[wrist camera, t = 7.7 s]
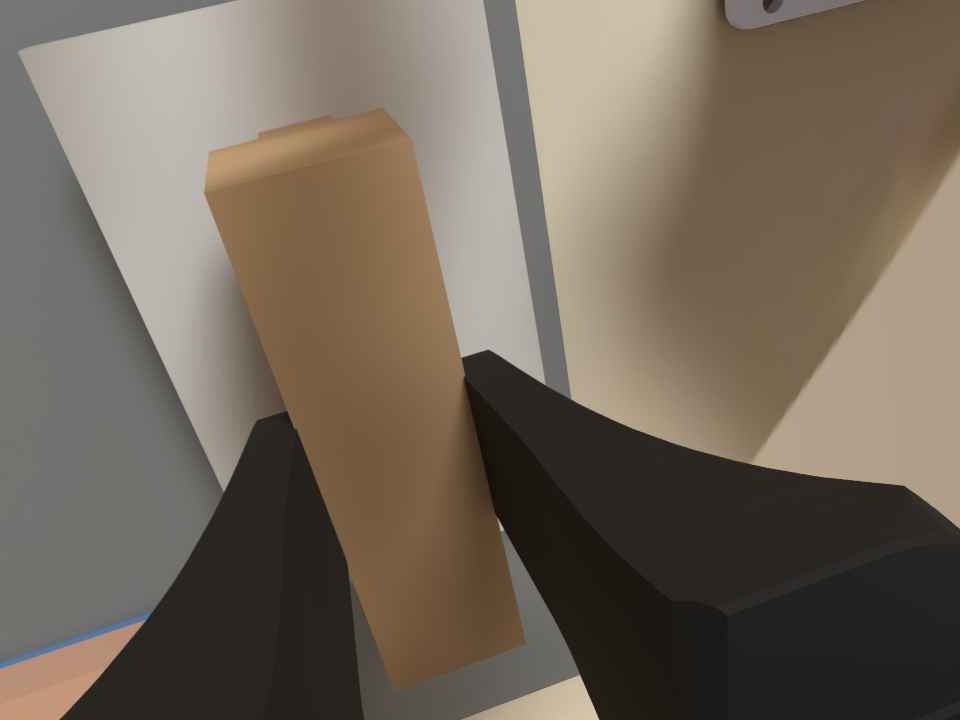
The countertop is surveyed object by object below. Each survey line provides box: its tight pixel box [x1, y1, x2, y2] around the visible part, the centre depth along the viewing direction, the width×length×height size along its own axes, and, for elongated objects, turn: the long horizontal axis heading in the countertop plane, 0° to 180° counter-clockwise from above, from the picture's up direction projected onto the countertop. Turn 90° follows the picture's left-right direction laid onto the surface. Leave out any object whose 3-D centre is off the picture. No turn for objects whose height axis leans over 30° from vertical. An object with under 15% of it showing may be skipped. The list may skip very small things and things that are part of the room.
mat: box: [0, 0, 580, 720], centre depth 19 cm, size 21×26×1 cm
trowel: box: [18, 0, 546, 692], centre depth 13 cm, size 7×12×5 cm, turn 11°
